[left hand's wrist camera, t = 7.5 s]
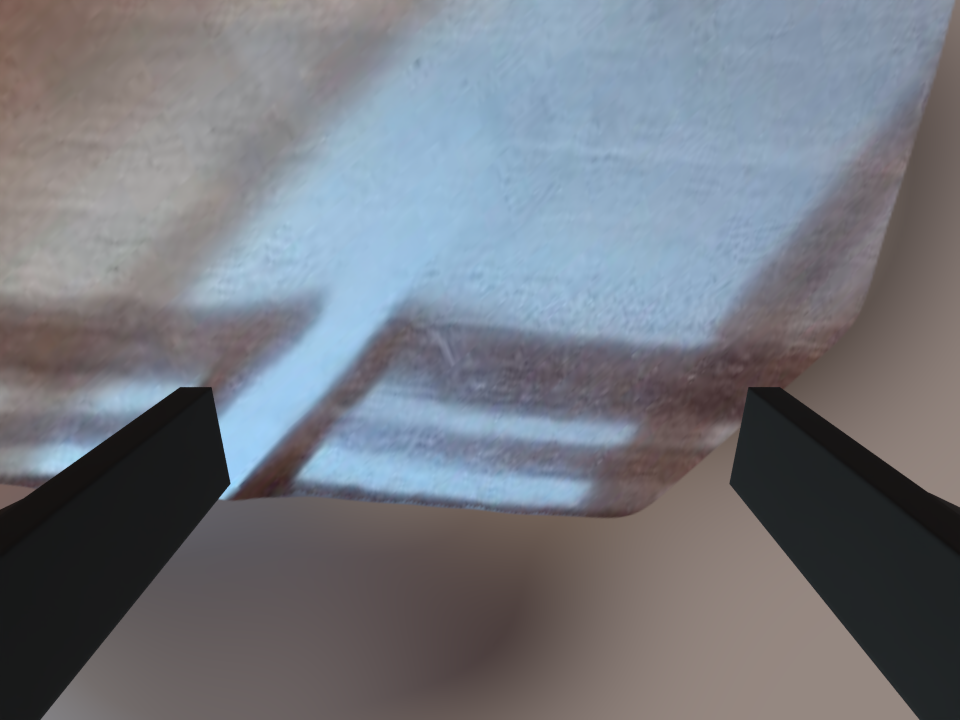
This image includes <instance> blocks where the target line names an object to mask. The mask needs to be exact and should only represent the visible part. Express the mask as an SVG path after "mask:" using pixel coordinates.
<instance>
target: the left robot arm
mask: <svg viewBox="0 0 960 720" xmlns="http://www.w3.org/2000/svg"><path fill="white" fill-rule="evenodd" d="M229 485H230V479H229V474H228V469H227V463H226V458H225V453H224V448H223V443H222V438H221V433H220V428H219V423H218V418H217V413H216V408H215V403H214V398H213V393H212V388H211V387H180V388H178V389H177V390H176V391H174V392H173V393H171V394H170V395H168V396H167V397H166V398H164V399H163V400H161V401H160V402H159V403H157V404H156V405H154V406H153V407H152V408H150V409H149V410H147V411H146V412H145V413H143V414H142V415H140V416H139V417H138V418H136V419H135V420H133V421H132V422H131V423H129V424H128V425H126V426H125V427H123V428H122V429H121V430H119V431H118V432H116V433H115V434H114V435H112V436H111V437H109V438H108V439H107V440H105V441H104V442H102V443H101V444H100V445H98V446H97V447H95V448H94V449H93V450H91V451H90V452H88V453H87V454H85V455H84V456H83V457H81V458H80V459H78V460H77V461H76V462H74V463H73V464H71V465H70V466H69V467H67V468H66V469H64V470H63V471H62V472H60V473H59V474H57V475H56V476H55V477H53V478H52V479H50V480H49V481H47V482H46V483H45V484H43V485H42V486H40V487H39V488H38V489H36V490H35V491H33V492H32V493H31V494H29V495H28V496H26V497H25V498H24V499H21V500H19V501H17V502H15V503H13V504H11V505H9V506H7V507H5V508H3V509H1V510H0V720H41V718H42V717H43V716H44V715H45V713H46V712H47V711H48V710H49V708H50V707H51V706H52V705H53V703H54V702H55V701H56V700H57V698H58V697H59V696H60V695H61V693H62V692H63V691H64V690H65V689H66V687H67V686H68V685H69V684H70V682H71V681H72V680H73V679H74V677H75V676H76V675H77V674H78V672H79V671H80V670H81V669H82V667H83V666H84V665H85V664H86V662H87V661H88V660H89V659H90V657H91V656H92V655H93V654H94V653H95V651H96V650H97V649H98V648H99V646H100V645H101V644H102V643H103V641H104V640H105V639H106V638H107V636H108V635H109V634H110V633H111V631H112V630H113V629H114V628H115V626H116V625H117V624H118V623H119V622H120V620H121V619H122V618H123V617H124V615H125V614H126V613H127V612H128V610H129V609H130V608H131V607H132V605H133V604H134V603H135V602H136V600H137V599H138V598H139V597H140V595H141V594H142V593H143V592H144V590H145V589H146V588H147V587H148V586H149V584H150V583H151V582H152V581H153V579H154V578H155V577H156V576H157V574H158V573H159V572H160V571H161V569H162V568H163V567H164V566H165V564H166V563H167V562H168V561H169V559H170V558H171V557H172V556H173V554H174V553H175V552H176V551H177V550H178V548H179V547H180V546H181V544H182V543H183V542H184V541H185V540H186V538H187V537H188V536H189V535H190V533H191V532H192V531H193V530H194V528H195V527H196V526H197V525H198V523H199V522H200V521H201V520H202V518H203V517H204V516H205V515H206V514H207V512H208V511H209V510H210V509H211V507H212V506H213V505H214V504H215V502H216V501H217V500H218V499H219V497H220V496H221V495H222V494H223V492H224V491H225V490H226V489H227V487H228V486H229ZM730 485H731V486H732V487H733V489H734V490H735V491H736V492H737V494H738V495H739V496H740V497H741V499H742V500H743V501H744V502H745V504H746V505H747V506H748V507H749V509H750V510H751V511H752V512H753V513H754V515H755V516H756V517H757V518H758V520H759V521H760V522H761V523H762V525H763V526H764V527H765V528H766V530H767V531H768V532H769V533H770V535H771V536H772V537H773V538H774V540H775V541H776V542H777V543H778V545H779V546H780V547H781V548H782V550H783V551H784V552H785V553H786V554H787V556H788V557H789V558H790V559H791V561H792V562H793V563H794V564H795V566H796V567H797V568H798V569H799V571H800V572H801V573H802V574H803V576H804V577H805V578H806V579H807V581H808V582H809V583H810V584H811V585H812V587H813V588H814V589H815V590H816V592H817V593H818V594H819V595H820V597H821V598H822V599H823V600H824V602H825V603H826V604H827V605H828V607H829V608H830V609H831V610H832V612H833V613H834V614H835V615H836V617H837V618H838V619H839V620H840V622H841V623H842V624H843V625H844V626H845V628H846V629H847V630H848V631H849V633H850V634H851V635H852V636H853V638H854V639H855V640H856V641H857V643H858V644H859V645H860V646H861V648H862V649H863V650H864V651H865V653H866V654H867V655H868V656H869V657H870V659H871V660H872V661H873V662H874V664H875V665H876V666H877V667H878V669H879V670H880V671H881V672H882V674H883V675H884V676H885V677H886V679H887V680H888V681H889V682H890V684H891V685H892V686H893V687H894V688H895V690H896V691H897V692H898V693H899V695H900V696H901V697H902V698H903V700H904V701H905V702H906V703H907V705H908V706H909V707H910V708H911V710H912V711H913V712H914V713H915V715H916V716H917V717H918V718H919V720H960V507H958V506H956V505H954V504H952V503H949V502H947V501H945V500H943V499H941V498H939V497H937V496H935V495H933V494H931V493H928V492H927V491H925V490H924V489H922V488H921V487H920V486H918V485H917V484H915V483H914V482H913V481H911V480H910V479H908V478H907V477H905V476H904V475H903V474H901V473H900V472H898V471H897V470H896V469H894V468H893V467H891V466H890V465H889V464H887V463H886V462H884V461H883V460H882V459H880V458H879V457H877V456H876V455H874V454H873V453H872V452H870V451H869V450H867V449H866V448H865V447H863V446H862V445H860V444H859V443H858V442H856V441H855V440H853V439H852V438H851V437H849V436H848V435H846V434H845V433H844V432H842V431H841V430H839V429H838V428H837V427H835V426H834V425H832V424H831V423H829V422H828V421H827V420H825V419H824V418H822V417H821V416H820V415H818V414H817V413H815V412H814V411H813V410H811V409H810V408H808V407H807V406H806V405H804V404H803V403H801V402H800V401H799V400H797V399H796V398H794V397H793V396H792V395H790V394H789V393H787V392H786V391H784V390H783V389H782V388H780V387H749V388H748V393H747V398H746V403H745V408H744V413H743V418H742V423H741V428H740V433H739V438H738V443H737V448H736V453H735V459H734V464H733V469H732V474H731V479H730Z"/></svg>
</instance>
